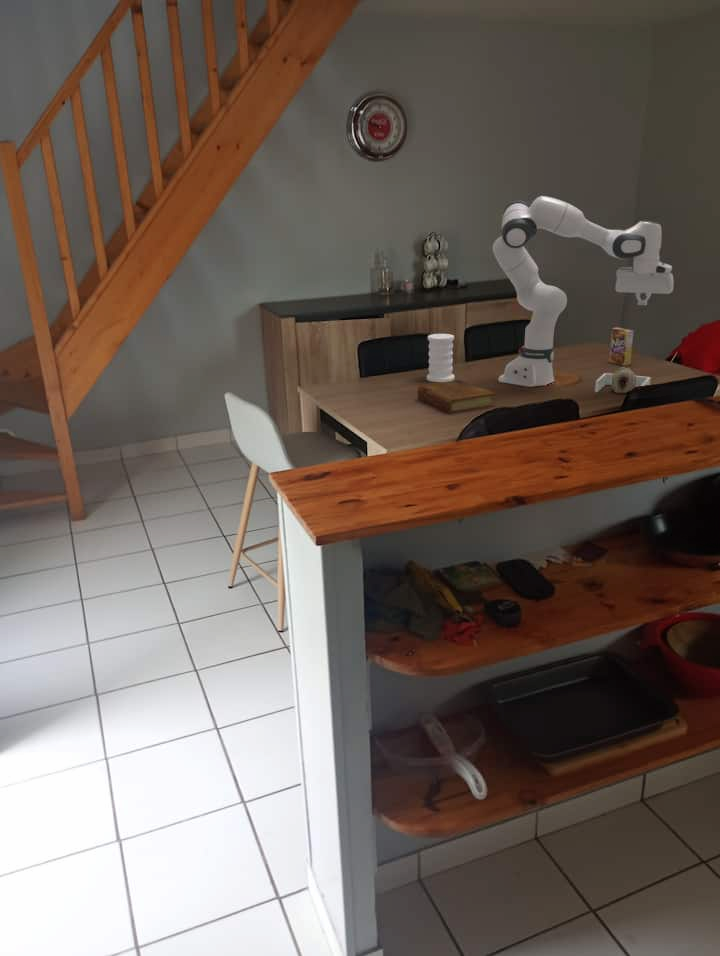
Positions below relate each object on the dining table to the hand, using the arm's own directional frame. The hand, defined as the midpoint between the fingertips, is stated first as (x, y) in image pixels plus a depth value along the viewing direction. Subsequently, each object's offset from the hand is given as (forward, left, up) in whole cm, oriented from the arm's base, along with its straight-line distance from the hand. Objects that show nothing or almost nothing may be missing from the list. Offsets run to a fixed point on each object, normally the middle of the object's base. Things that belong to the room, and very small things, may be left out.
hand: (642, 305), depth 278 cm
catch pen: (-3, -5, -32) cm, 33 cm away
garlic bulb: (-2, -6, -32) cm, 33 cm away
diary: (-55, -47, -33) cm, 79 cm away
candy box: (-14, +40, -32) cm, 53 cm away
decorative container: (-75, -16, -32) cm, 83 cm away
